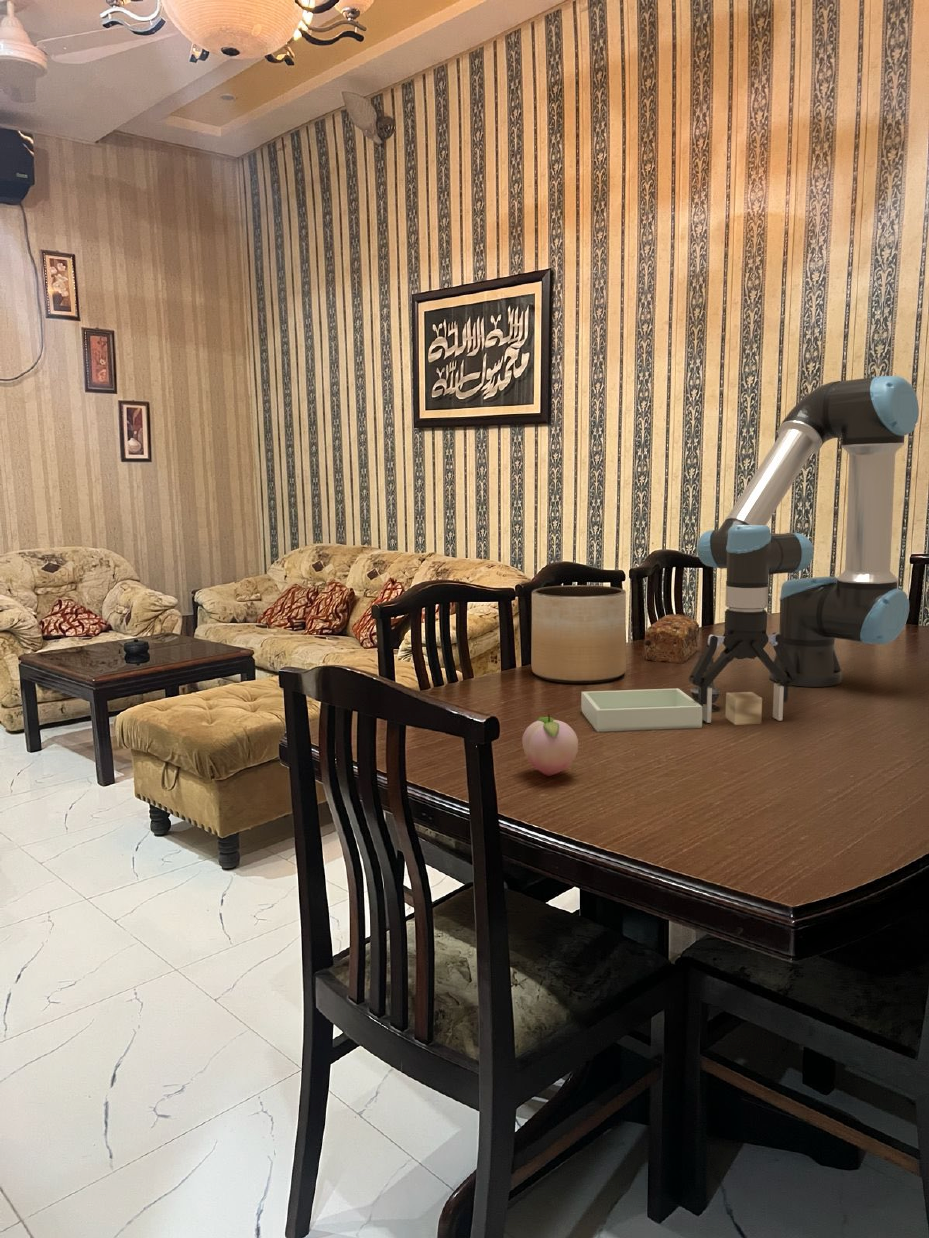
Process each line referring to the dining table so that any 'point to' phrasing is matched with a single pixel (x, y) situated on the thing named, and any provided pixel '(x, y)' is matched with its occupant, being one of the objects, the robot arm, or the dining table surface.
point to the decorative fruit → (550, 745)
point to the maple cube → (743, 708)
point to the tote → (640, 710)
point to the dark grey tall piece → (714, 691)
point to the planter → (578, 633)
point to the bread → (672, 639)
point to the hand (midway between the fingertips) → (742, 720)
